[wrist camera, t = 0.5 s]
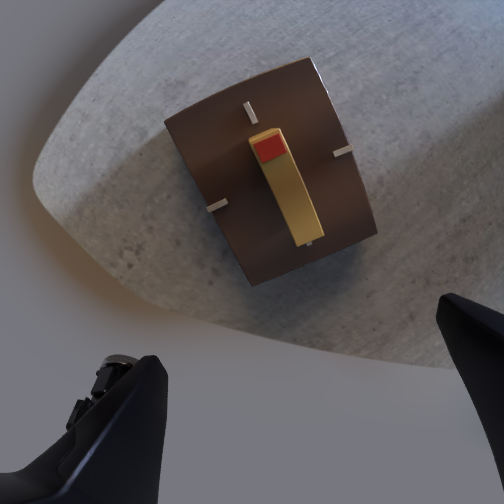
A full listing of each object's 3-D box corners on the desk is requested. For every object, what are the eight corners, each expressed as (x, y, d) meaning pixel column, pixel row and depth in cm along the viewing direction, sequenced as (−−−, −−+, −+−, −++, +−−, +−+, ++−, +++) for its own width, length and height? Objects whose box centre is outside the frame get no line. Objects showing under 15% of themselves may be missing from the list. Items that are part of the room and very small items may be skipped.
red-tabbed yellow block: (309, 213, 18) (325, 237, 14) (287, 222, 18) (297, 249, 15) (272, 128, 16) (280, 128, 12) (248, 138, 16) (248, 141, 12)
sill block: (364, 219, 22) (380, 233, 19) (250, 268, 23) (250, 289, 20) (302, 64, 17) (312, 54, 14) (173, 122, 18) (160, 121, 15)
